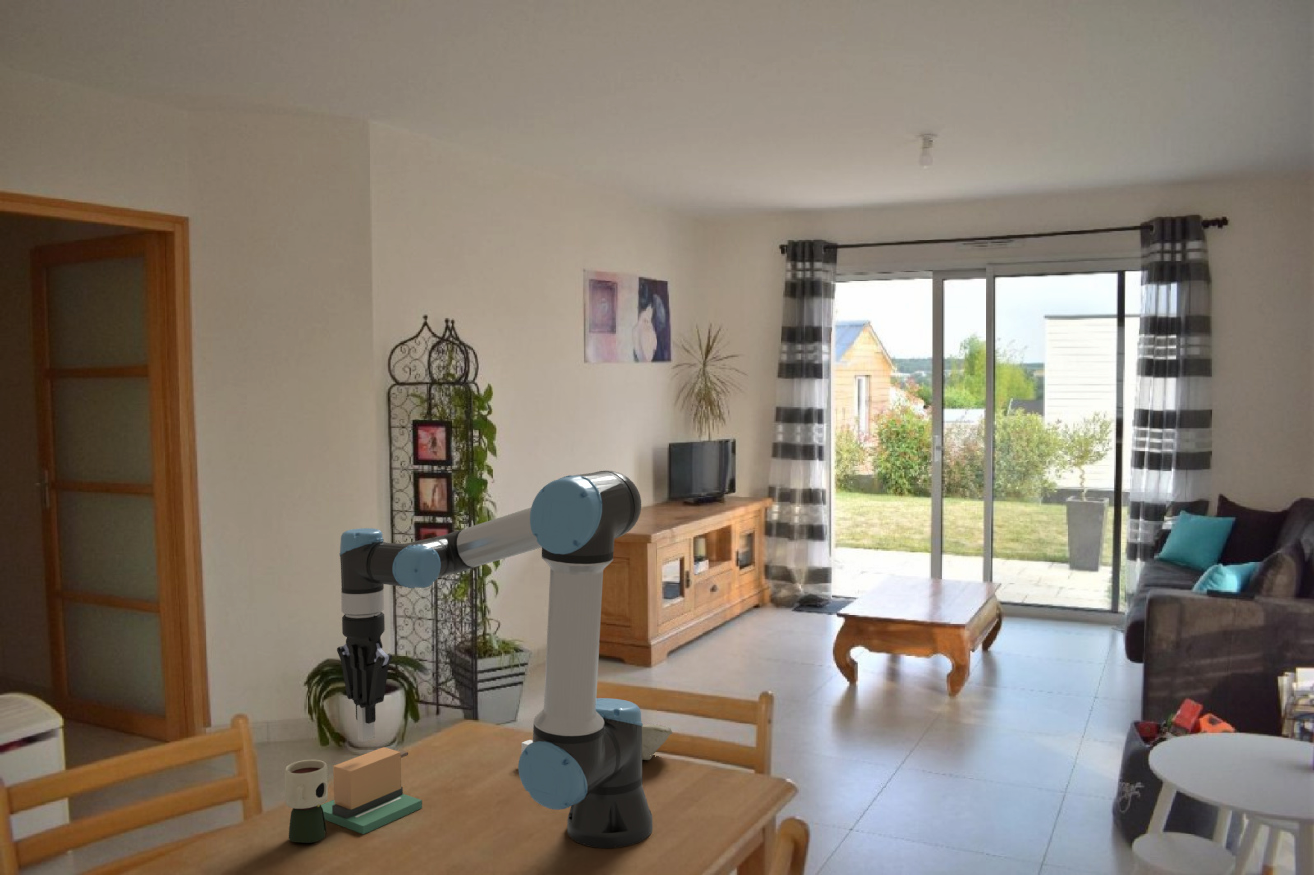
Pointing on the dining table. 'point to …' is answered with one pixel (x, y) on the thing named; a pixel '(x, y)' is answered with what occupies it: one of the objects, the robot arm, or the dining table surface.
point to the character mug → (306, 799)
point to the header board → (372, 812)
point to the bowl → (653, 739)
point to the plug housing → (367, 777)
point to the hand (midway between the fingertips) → (366, 738)
